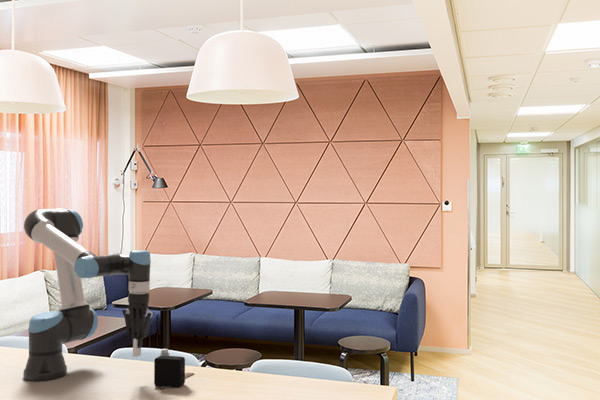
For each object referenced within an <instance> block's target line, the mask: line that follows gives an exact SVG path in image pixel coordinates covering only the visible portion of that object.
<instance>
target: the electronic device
mask: <svg viewBox="0 0 600 400" xmlns="http://www.w3.org/2000/svg"><path fill="white" fill-rule="evenodd" d="M153 363H154V371H153V373H154V374H153V375H154V377H153V378H154V379H153V383H154V384H153V385H154V386H155V387H165V388H171V389H172V388H175V389H179V388H180V387H182V386H183V385H185V383H186V378H185V373H186V358H185V357H184V356H177V355H174V356H173V355H169V356H163V355H162V356H160V355H159V356H156V357H155V358H154V362H153Z"/></svg>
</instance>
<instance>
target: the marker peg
mask: <svg viewBox="0 0 600 400" xmlns="http://www.w3.org/2000/svg"><path fill="white" fill-rule="evenodd" d="M162 355H163V356H170V352H169V349H168V348H161V350H160V353H159V356H162Z"/></svg>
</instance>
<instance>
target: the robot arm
mask: <svg viewBox="0 0 600 400" xmlns="http://www.w3.org/2000/svg"><path fill="white" fill-rule="evenodd" d="M23 229H24V232H25V234H26V236H27V237H28V238H29V239H31V240H32V241H33V242H35V243H37V244H42V245H44V246H45V247H46V248H48V249H49V250H50V251H52V252H53V255H54V262H55V268H56V274H57V282H58V287H59V289H58V290H59V294H60V300H61V305H60V307H59V308H58V310H51V311H43V312H40V313H38V314H35V315H33V316H32V317H31V318H30V320H29V325H28V358H27V362H26V365H25V368H24V369H23V374H22V375H23V380H26V381H29V382H31V381H32V382H41V381H42V382H43V381H44V382H45V381H50V380H56V379H59V378H62V377H64V376H66V375H67V374H68V366H67V365H66V360H65V358H64V354H63V345H65V344H69V343H73V342H76V341H84V340H85V339H88V338H90V337H92V336H93V335H94V334H95V332H96V331H97V329H98V326H99V325H98V324H99V319H98V314H97V312H96V310H95V309H93V308H90V303H88V302H87V301H85V296H84V295H85V294H84V290H83V289H84V288H83V284H82V279H92V278H97V277H98V278H99V277H105V276H115V275H124V276H125V275H127V276H128V295H127V302H128V306H127V308H125V309H123V310H121V311H122V315H123V316H124V324H125V328H126V335H127V336H128V337H131V347H132V357H133V358H137V357H139V356H141V355H142V348H143V345H144V344H143V343H144V341H143V340H144V338H148V335H149V333H150V327H151V325H152V319H153V317H154V316H155V312H153V311H151V310H150V307H149V303H150V288H151V287H150V286H151V285H150V284H151V282H150V280H151V277H150V275H151V263H152V262H151V253H150V251H149V250H145V249H143V250H142V249H135V250H134V249H133V250H130V251H129V254H126V253H125V254H124V253H119V252H118V253H116V252H113V253H109V254H106V255H105V254H104V255H96V254H95V253H93V252H91V251H90V250H89V249H87V248H86V247H84V246H83V245H82V244H80V243H78V241H79V239H80V237H79V236H80V235H81V234H82V233H83V229H84V223H83V219H82V216H81V215H80V213H78V211H76V210H74V209H69V208H68V209H67V208H39V209H35V210H33V211H31V212H30V213H29V214H27V216H26V218H25V219H24V223H23Z"/></svg>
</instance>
